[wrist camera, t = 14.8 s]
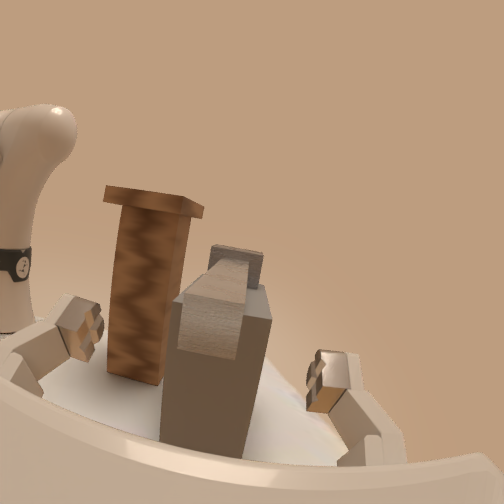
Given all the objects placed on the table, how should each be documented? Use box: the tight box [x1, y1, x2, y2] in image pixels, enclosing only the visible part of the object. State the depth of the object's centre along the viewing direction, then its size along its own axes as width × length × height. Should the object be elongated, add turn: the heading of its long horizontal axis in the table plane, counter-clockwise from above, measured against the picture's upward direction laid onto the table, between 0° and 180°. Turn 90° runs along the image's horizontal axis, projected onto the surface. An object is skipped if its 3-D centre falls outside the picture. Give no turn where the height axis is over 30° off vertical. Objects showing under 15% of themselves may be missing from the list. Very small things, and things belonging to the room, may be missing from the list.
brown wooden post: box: [103, 185, 204, 386], centre depth 43 cm, size 10×16×26 cm, turn 1°
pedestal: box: [159, 274, 272, 459], centre depth 33 cm, size 8×16×17 cm, turn 1°
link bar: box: [177, 244, 264, 360], centre depth 28 cm, size 6×26×4 cm, turn 1°
